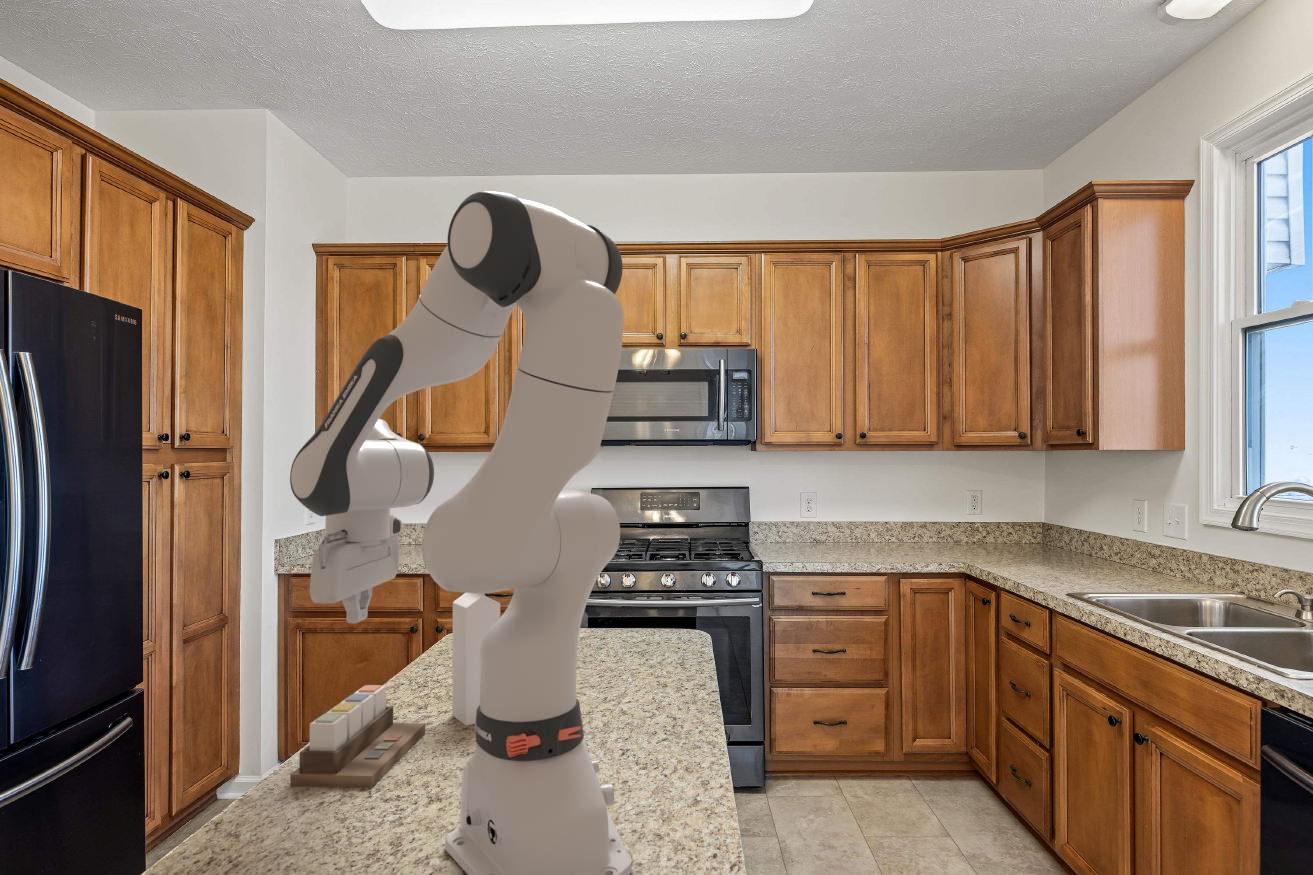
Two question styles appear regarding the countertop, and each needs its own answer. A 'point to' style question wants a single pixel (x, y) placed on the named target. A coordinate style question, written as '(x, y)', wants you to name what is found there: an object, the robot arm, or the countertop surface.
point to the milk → (469, 651)
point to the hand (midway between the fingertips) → (357, 621)
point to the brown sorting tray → (359, 755)
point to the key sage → (328, 732)
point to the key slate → (363, 707)
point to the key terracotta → (375, 697)
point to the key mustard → (349, 717)
